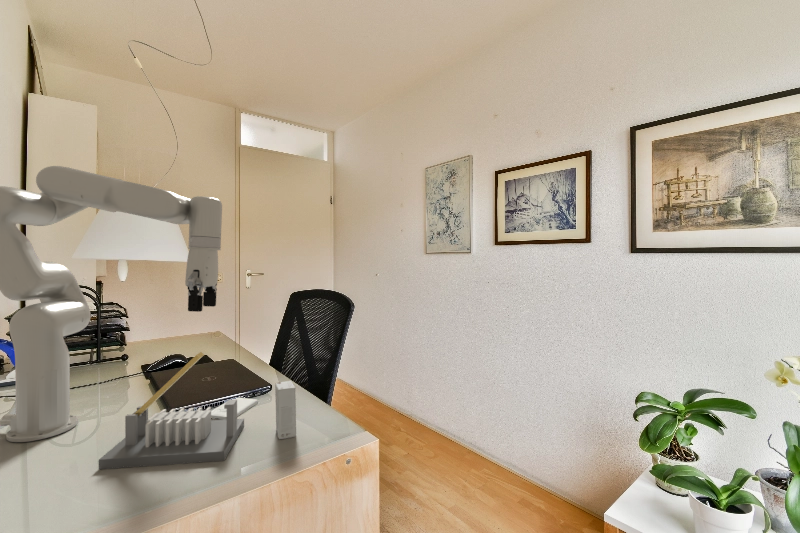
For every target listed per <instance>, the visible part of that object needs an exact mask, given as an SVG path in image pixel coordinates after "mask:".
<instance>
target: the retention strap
mask: <svg viewBox="0 0 800 533" xmlns="http://www.w3.org/2000/svg"><path fill="white" fill-rule="evenodd" d="M203 357H205V354H204V353H203V352H202V351H200V352H198V353H197V354H196V355H194V356H193V357H192V358H191V359H190V360H189V361H188V362H187V363H186V364H185V365H184V366H183V367H182V368H181V369H180V370H179V371H177V372H176V373H175V375H174V376H172V377H171V378H170V380H168V381H166V383H165V384H164V385H163V386H162V387H160V389H159V390H157V391H156V393H155V394H153V395H152V396H151V397H150V398H149V399H148V400H147V401H146V402H144V404H143V405H141V406H142V407H141V408H140V409H138V410H137V409H136V411H134V412H133V413H132V414H137V419H138V418H139V417H141V416H142V415H143V414H144V412H145V411H146V410H147V409H148V410H149V408H150V407H151V406H152V405H153V404H154V403H155V402H156V401H157V400H158V399H159V398H161V396H163V395H164V394H165V393H166V392H167V391H168V390H169V389H170V388H171V387H172V386H174V384H175V383H177V382H178V380H179V379H180V378H181V377H182V376H184V375H185V374H186V372H188V371H189V370H190V369H191V368H192V367H193V366H194V365H195V364H196V363H198V362H199V360H200V359H201V358H203Z"/></svg>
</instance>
